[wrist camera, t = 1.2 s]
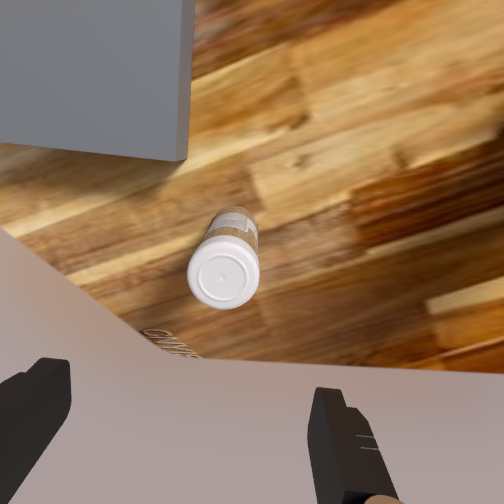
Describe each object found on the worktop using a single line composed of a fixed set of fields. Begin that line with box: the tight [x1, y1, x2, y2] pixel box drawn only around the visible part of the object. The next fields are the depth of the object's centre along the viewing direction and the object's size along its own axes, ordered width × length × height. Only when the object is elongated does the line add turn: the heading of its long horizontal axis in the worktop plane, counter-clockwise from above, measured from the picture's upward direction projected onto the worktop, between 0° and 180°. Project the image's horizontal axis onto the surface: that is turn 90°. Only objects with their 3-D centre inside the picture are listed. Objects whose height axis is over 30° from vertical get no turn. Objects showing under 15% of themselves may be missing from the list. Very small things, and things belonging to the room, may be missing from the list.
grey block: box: [0, 0, 195, 162], centre depth 28 cm, size 14×14×5 cm
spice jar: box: [187, 206, 260, 309], centre depth 28 cm, size 5×5×14 cm
